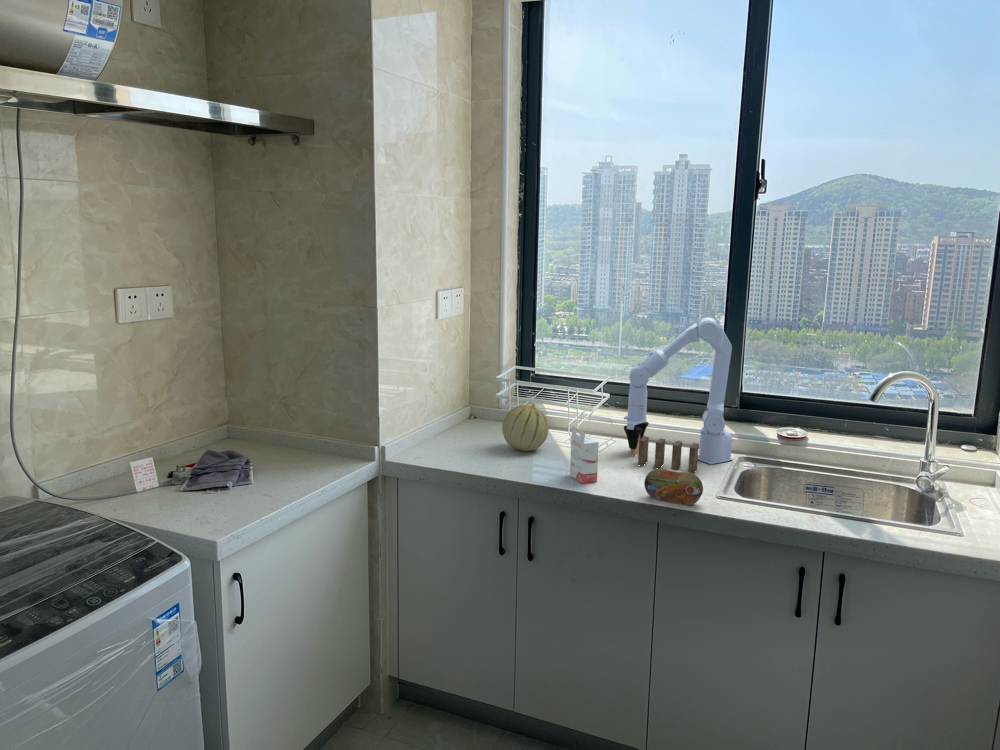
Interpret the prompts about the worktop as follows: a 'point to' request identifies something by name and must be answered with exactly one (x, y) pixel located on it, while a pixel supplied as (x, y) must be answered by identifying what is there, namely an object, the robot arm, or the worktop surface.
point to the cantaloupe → (525, 428)
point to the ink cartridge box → (583, 457)
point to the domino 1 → (635, 451)
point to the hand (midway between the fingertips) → (635, 446)
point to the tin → (673, 486)
